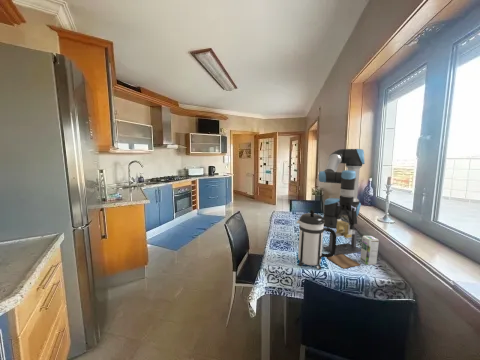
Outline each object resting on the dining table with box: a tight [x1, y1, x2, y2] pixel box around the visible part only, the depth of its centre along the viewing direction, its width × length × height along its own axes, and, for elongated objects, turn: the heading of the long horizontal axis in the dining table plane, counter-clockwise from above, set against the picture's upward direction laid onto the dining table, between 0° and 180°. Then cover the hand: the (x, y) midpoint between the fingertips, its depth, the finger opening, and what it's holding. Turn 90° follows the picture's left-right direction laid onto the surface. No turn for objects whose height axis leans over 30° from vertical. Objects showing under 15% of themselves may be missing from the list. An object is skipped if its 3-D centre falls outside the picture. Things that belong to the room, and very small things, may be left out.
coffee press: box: [296, 209, 337, 270], centre depth 110 cm, size 17×16×30 cm
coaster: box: [326, 254, 361, 270], centre depth 114 cm, size 12×12×1 cm
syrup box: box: [359, 235, 380, 266], centre depth 113 cm, size 6×6×14 cm
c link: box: [335, 220, 352, 239], centre depth 127 cm, size 4×8×8 cm, turn 19°
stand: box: [323, 229, 361, 256], centre depth 128 cm, size 20×10×12 cm, turn 109°
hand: (343, 231), depth 127 cm, fingers closed on c link, 8 cm apart
